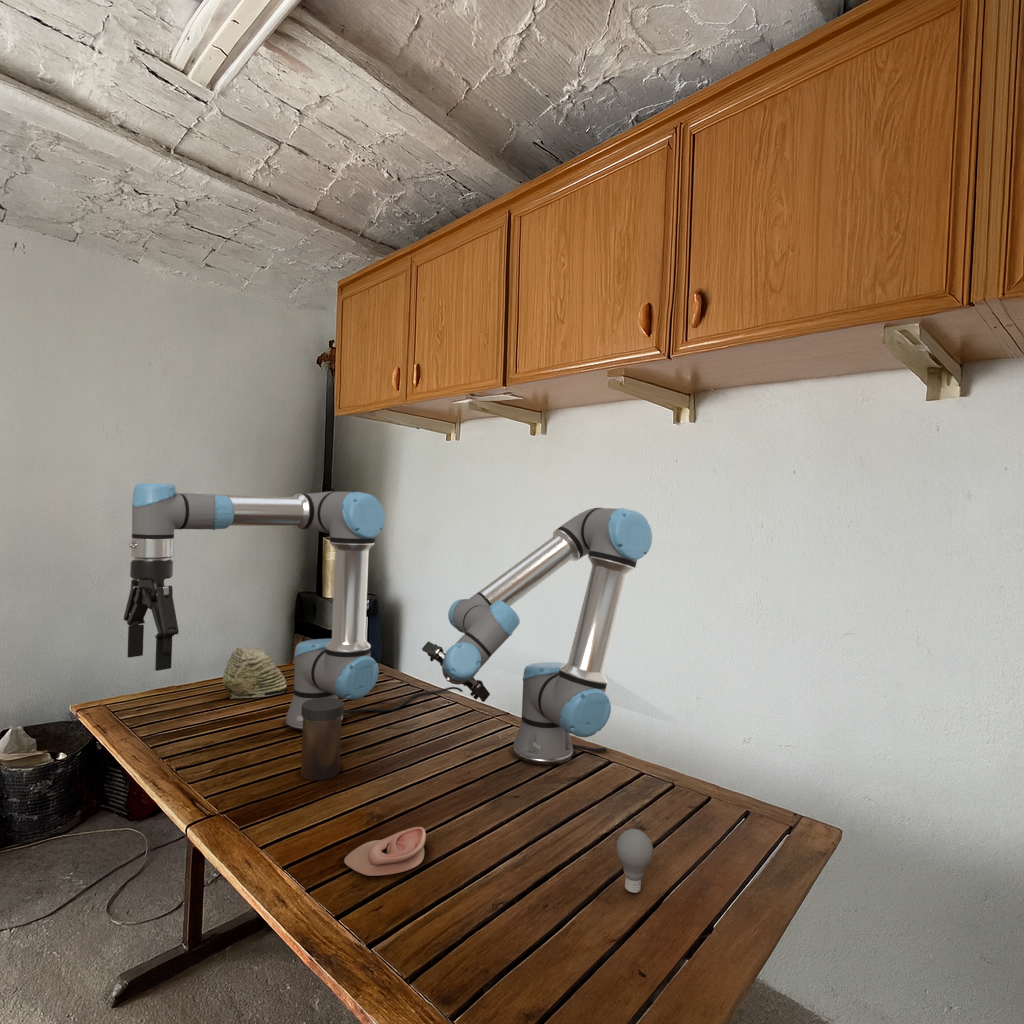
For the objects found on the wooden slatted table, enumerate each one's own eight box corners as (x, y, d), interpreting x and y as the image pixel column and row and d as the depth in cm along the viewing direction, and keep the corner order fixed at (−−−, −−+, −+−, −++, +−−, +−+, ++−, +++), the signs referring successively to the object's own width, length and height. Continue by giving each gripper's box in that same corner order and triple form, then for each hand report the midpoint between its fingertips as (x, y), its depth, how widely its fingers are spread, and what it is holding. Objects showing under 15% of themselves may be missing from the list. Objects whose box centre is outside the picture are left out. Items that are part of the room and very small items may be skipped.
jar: (345, 774, 145) (348, 707, 145) (309, 783, 140) (311, 714, 139) (330, 761, 151) (333, 697, 151) (295, 769, 146) (297, 703, 146)
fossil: (218, 695, 195) (220, 647, 195) (278, 685, 208) (279, 640, 207) (228, 703, 189) (230, 653, 188) (289, 692, 201) (290, 645, 201)
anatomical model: (336, 847, 108) (365, 815, 119) (335, 870, 108) (364, 836, 119) (410, 859, 105) (432, 825, 116) (409, 883, 105) (431, 846, 116)
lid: (350, 716, 145) (350, 706, 145) (310, 723, 139) (311, 713, 139) (333, 704, 152) (333, 695, 152) (295, 711, 146) (295, 701, 146)
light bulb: (610, 879, 108) (613, 822, 108) (644, 879, 109) (647, 822, 109) (619, 902, 102) (622, 840, 102) (655, 901, 103) (658, 840, 103)
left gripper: (108, 554, 134) (104, 654, 134) (159, 565, 118) (155, 678, 119) (146, 552, 140) (143, 648, 140) (199, 563, 124) (195, 671, 124)
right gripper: (406, 643, 145) (408, 654, 165) (490, 716, 142) (481, 717, 162) (428, 618, 147) (427, 631, 167) (511, 689, 145) (500, 693, 165)
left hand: (148, 662), depth 129 cm, fingers open, 13 cm apart
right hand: (454, 673), depth 165 cm, fingers open, 13 cm apart
